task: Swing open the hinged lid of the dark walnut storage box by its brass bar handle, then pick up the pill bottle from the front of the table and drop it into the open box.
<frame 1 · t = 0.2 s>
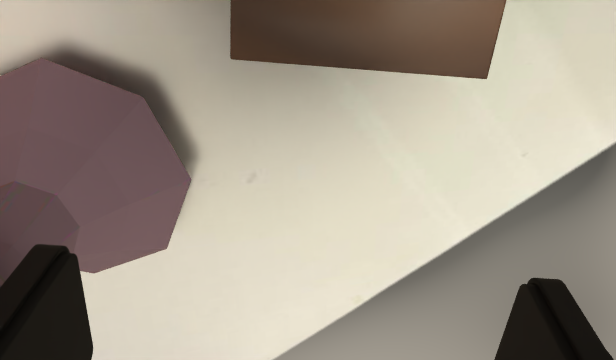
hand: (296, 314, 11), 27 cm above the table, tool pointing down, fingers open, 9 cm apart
flask: (95, 149, 39), on the table
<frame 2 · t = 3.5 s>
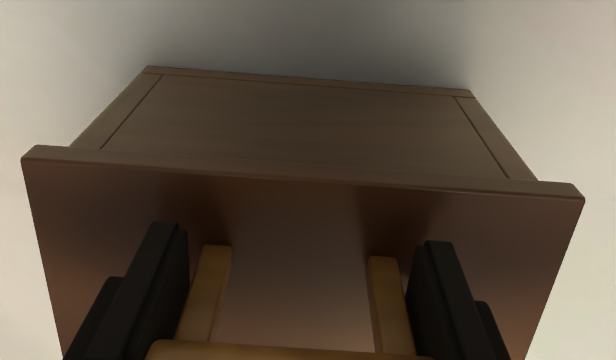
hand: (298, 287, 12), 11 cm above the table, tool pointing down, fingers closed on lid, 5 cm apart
chest: (297, 232, 24), on the table
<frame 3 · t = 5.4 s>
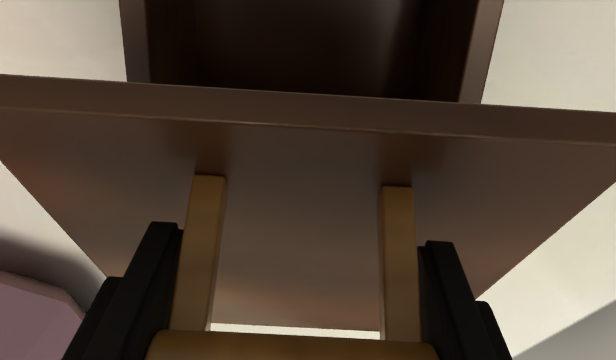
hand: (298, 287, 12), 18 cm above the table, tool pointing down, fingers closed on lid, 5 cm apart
flask: (29, 323, 36), on the table
chest: (303, 91, 28), on the table
lid: (291, 345, 15), point 16 cm above the table, hinge at 33.4°, touching gripper
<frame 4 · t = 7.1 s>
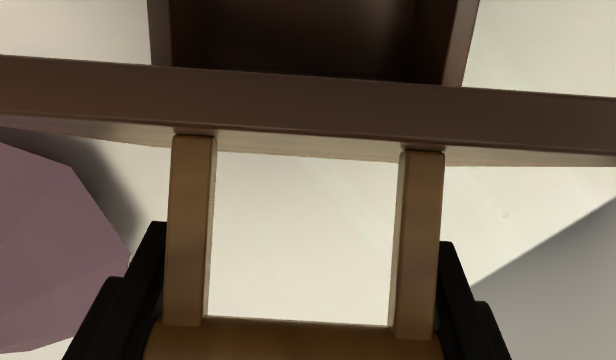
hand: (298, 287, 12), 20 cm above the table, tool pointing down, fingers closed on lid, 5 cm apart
flask: (31, 212, 36), on the table
lid: (299, 233, 15), point 18 cm above the table, hinge at 63.2°, touching gripper
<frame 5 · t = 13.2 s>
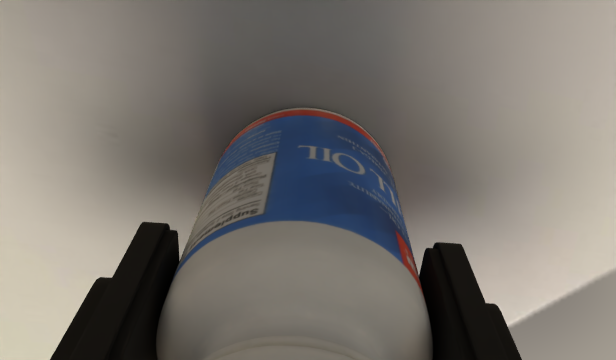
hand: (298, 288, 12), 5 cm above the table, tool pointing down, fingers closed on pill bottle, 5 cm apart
pill bottle: (303, 180, 16), on the table, touching gripper
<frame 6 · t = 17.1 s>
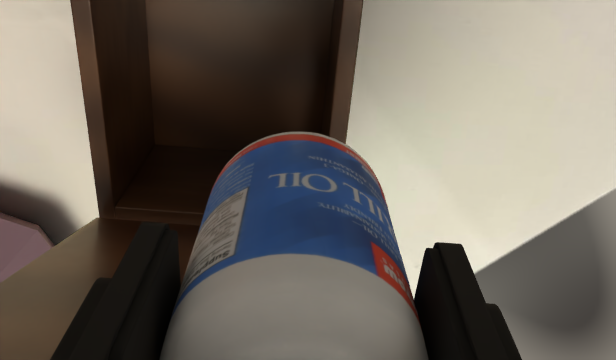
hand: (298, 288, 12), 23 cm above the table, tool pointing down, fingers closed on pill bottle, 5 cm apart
pill bottle: (296, 201, 17), point 18 cm above the table, touching gripper
flask: (8, 258, 41), on the table
chest: (240, 50, 33), on the table
lid: (181, 354, 21), point 18 cm above the table, hinge at 72.2°
when the fingers open (8 cm above the table, at t = 22.5 s): pill bottle stays where it is, resting on chest.
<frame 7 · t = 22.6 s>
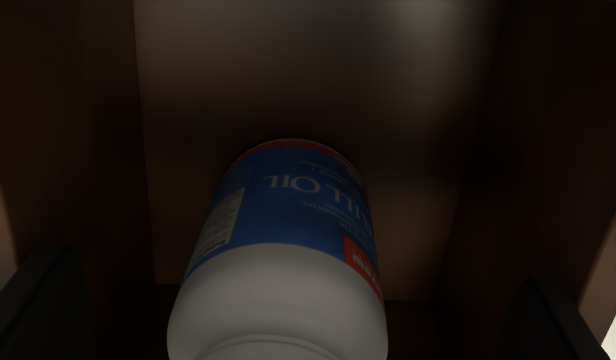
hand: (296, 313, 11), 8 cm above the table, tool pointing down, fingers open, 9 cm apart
pill bottle: (292, 198, 19), point 1 cm above the table, touching chest
chest: (307, 135, 18), on the table
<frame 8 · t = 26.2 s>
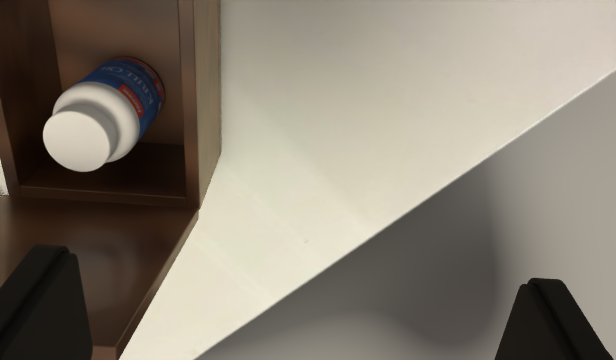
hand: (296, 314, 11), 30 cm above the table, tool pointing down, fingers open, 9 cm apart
pill bottle: (130, 89, 40), point 1 cm above the table, touching chest
chest: (135, 58, 39), on the table
lid: (49, 303, 28), point 18 cm above the table, hinge at 77.7°
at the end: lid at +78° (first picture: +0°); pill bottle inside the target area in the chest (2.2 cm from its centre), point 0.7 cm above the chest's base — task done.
